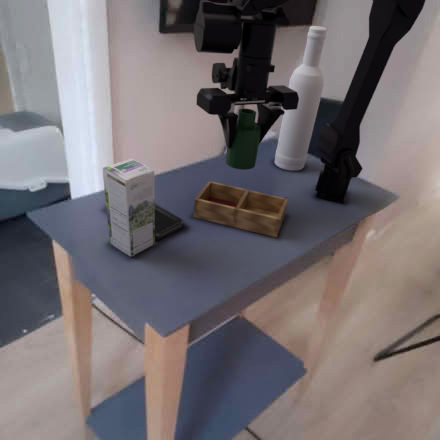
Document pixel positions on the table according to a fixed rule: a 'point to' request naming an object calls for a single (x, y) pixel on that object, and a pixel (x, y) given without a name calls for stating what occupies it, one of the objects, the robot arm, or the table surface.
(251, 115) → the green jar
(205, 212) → the wooden divided tray
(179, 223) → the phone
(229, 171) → the table surface
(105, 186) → the syrup box
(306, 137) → the bottle
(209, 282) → the table surface
